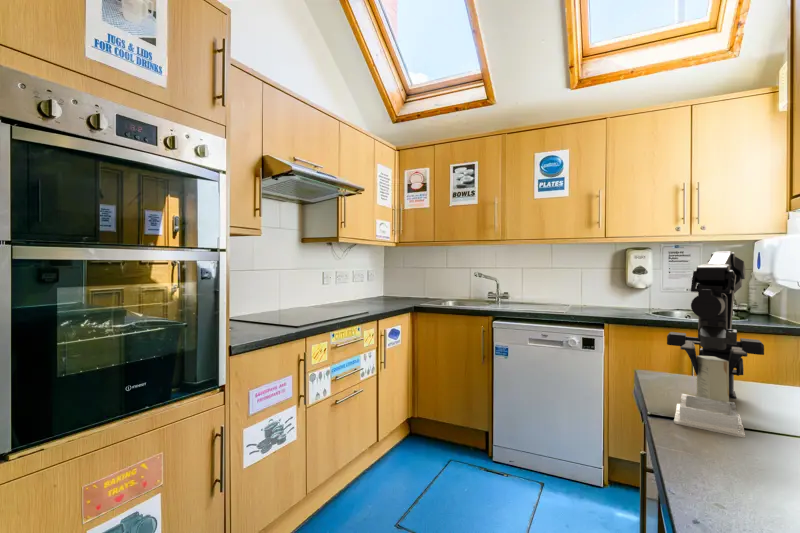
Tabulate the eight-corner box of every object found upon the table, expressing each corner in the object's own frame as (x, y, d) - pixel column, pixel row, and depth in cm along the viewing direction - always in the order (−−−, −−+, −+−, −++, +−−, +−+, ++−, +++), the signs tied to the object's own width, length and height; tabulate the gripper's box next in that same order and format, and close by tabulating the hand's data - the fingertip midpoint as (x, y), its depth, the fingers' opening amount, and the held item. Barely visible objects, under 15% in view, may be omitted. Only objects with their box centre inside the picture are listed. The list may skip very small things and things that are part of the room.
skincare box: (729, 411, 94) (730, 361, 94) (709, 410, 95) (710, 360, 95) (714, 402, 101) (715, 355, 101) (695, 401, 102) (696, 354, 102)
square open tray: (677, 405, 98) (677, 391, 98) (739, 417, 91) (739, 401, 91) (674, 423, 87) (674, 407, 87) (745, 438, 80) (745, 420, 80)
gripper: (665, 315, 97) (665, 377, 97) (767, 322, 86) (767, 392, 86) (668, 311, 106) (668, 368, 106) (761, 316, 95) (760, 380, 95)
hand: (712, 376), depth 98 cm, fingers closed on skincare box, 6 cm apart
